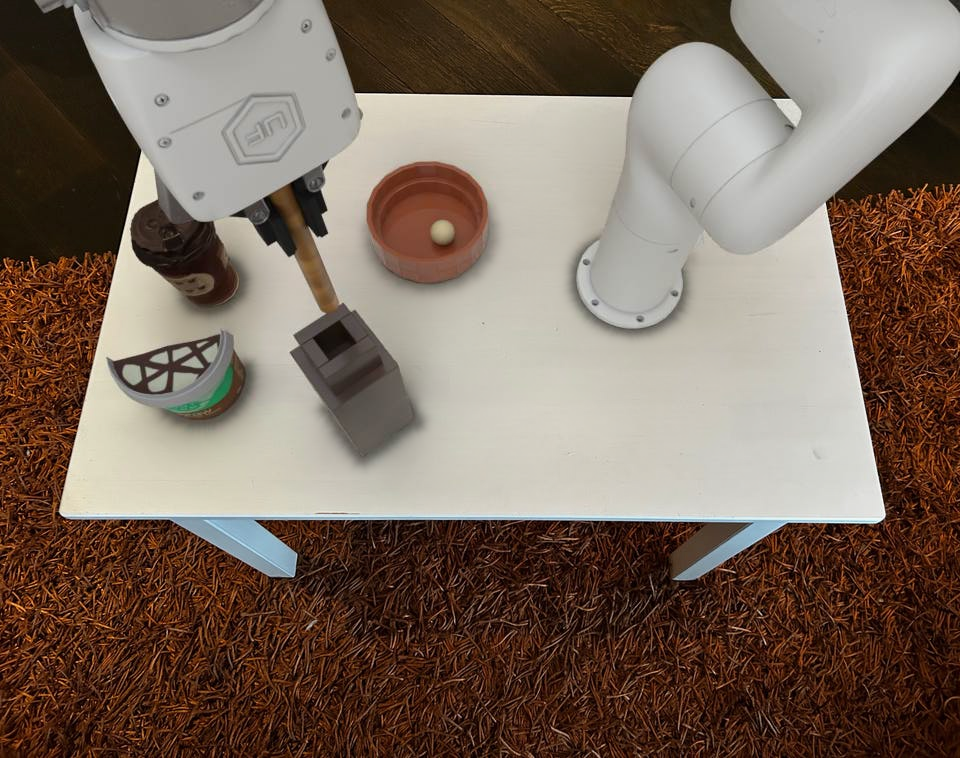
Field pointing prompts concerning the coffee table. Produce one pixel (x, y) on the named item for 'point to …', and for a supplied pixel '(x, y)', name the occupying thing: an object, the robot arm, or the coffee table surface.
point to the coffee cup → (184, 255)
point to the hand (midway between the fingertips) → (296, 229)
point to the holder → (354, 377)
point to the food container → (184, 377)
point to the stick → (305, 249)
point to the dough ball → (442, 232)
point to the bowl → (427, 220)
